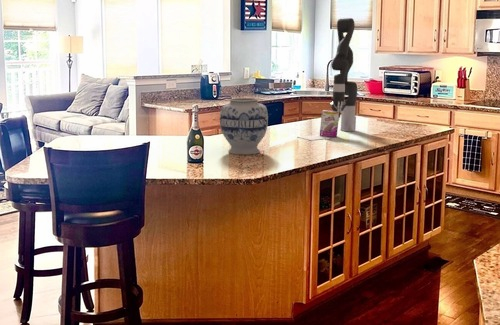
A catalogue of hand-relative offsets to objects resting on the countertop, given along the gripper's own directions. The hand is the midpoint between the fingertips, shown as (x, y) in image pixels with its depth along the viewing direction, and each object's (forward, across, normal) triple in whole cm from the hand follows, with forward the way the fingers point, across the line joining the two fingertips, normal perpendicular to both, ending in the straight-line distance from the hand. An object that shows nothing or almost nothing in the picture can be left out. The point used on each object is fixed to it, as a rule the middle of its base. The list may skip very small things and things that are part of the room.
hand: (337, 117), depth 409 cm
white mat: (+12, +18, -1) cm, 22 cm away
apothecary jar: (+13, +81, +17) cm, 84 cm away
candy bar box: (+12, +7, 0) cm, 14 cm away
